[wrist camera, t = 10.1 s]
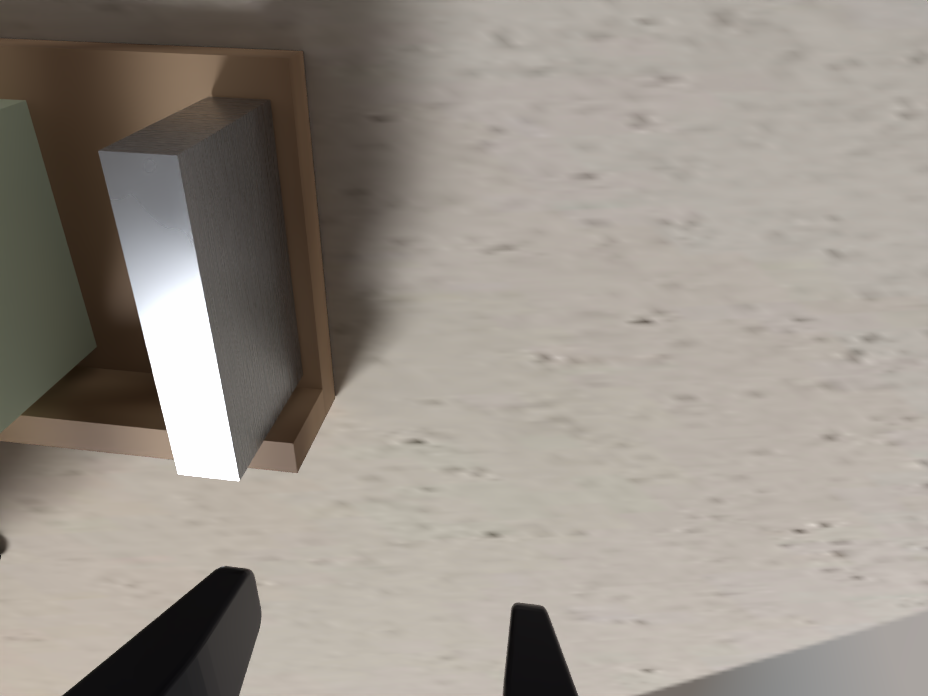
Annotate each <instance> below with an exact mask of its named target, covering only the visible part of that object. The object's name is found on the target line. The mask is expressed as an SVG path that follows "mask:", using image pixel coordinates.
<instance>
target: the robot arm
mask: <svg viewBox="0 0 928 696" xmlns="http://www.w3.org/2000/svg"><path fill="white" fill-rule="evenodd" d="M0 559H1V555H0ZM260 624H261V606H260V601H259V596H258V591H257V586H256V581H255V576H254V574H253V572H252V571H251V570H249V569H246V568H238V567H230V566H223V567H220V568H218V569H216V570H215V571H213V572H212V573H211V574H210V575H209V576H207V577H206V578H205V579H204V580H203V581H201V582H200V583H199V584H198V585H196V586H195V587H194V588H193V589H192V590H190V591H189V592H188V593H187V594H185V595H184V596H183V597H182V598H181V599H179V600H178V601H177V602H176V603H175V604H173V605H172V606H171V607H170V608H168V609H167V610H166V611H165V612H164V613H162V614H161V615H160V616H159V617H157V618H156V619H155V620H154V621H153V622H151V623H150V624H149V625H148V626H146V627H145V628H144V629H143V630H142V631H140V632H139V633H138V634H137V635H136V636H134V637H133V638H132V639H131V640H129V641H128V642H127V643H126V644H125V645H123V646H122V647H121V648H120V649H118V650H117V651H116V652H115V653H114V654H112V655H111V656H110V657H109V658H108V659H106V660H105V661H104V662H103V663H101V664H100V665H99V666H98V667H97V668H95V669H94V670H93V671H92V672H90V673H89V674H88V675H87V676H86V677H84V678H83V679H82V680H81V681H80V682H78V683H77V684H76V685H75V686H73V687H72V688H71V689H70V690H69V691H67V692H66V693H65V694H64V695H62V696H239V694H240V690H241V687H242V684H243V681H244V677H245V674H246V671H247V668H248V664H249V661H250V658H251V655H252V651H253V648H254V645H255V642H256V638H257V635H258V632H259V628H260ZM503 696H578V694H577V691H576V688H575V685H574V683H573V680H572V677H571V675H570V672H569V669H568V666H567V664H566V661H565V658H564V656H563V653H562V650H561V647H560V645H559V642H558V639H557V637H556V634H555V631H554V628H553V626H552V623H551V620H550V618H549V615H548V612H547V611H546V609H545V608H544V607H543V606H541V605H534V604H526V603H515V604H514V605H513V606H512V608H511V617H510V627H509V637H508V646H507V656H506V666H505V675H504V686H503Z"/></svg>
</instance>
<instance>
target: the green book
mask: <svg viewBox="0 0 928 696" xmlns="http://www.w3.org/2000/svg"><path fill="white" fill-rule="evenodd" d="M96 347H97V345H96V342H95V338H94V335H93V331H92V328H91V324H90V321H89V317H88V314H87V310H86V307H85V304H84V300H83V297H82V293H81V290H80V286H79V283H78V279H77V276H76V272H75V269H74V265H73V262H72V258H71V255H70V251H69V248H68V245H67V241H66V238H65V234H64V231H63V227H62V224H61V220H60V217H59V213H58V210H57V206H56V203H55V199H54V196H53V192H52V189H51V185H50V182H49V179H48V175H47V172H46V168H45V165H44V161H43V158H42V154H41V151H40V147H39V144H38V140H37V137H36V133H35V130H34V126H33V123H32V119H31V116H30V113H29V109H28V106H27V102H26V100H10V99H0V433H1V432H2V431H3V430H4V429H6V428H7V427H8V426H9V425H10V424H11V423H12V422H13V421H15V420H16V419H17V418H18V417H19V416H20V415H21V414H22V413H23V412H25V411H26V410H27V409H28V408H29V407H30V406H31V405H32V404H33V403H35V402H36V401H37V400H38V399H39V398H40V397H41V396H42V395H44V394H45V393H46V392H47V391H48V390H49V389H50V388H51V387H52V386H54V385H55V384H56V383H57V382H58V381H59V380H60V379H61V378H63V377H64V376H65V375H66V374H67V373H68V372H69V371H70V370H71V369H73V368H74V367H75V366H76V365H77V364H78V363H79V362H80V361H82V360H83V359H84V358H85V357H86V356H87V355H88V354H89V353H90V352H92V351H93V350H94V349H95V348H96Z"/></svg>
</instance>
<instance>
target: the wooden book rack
mask: <svg viewBox="0 0 928 696" xmlns="http://www.w3.org/2000/svg"><path fill="white" fill-rule="evenodd" d="M206 97H226V98H246V99H266V100H270V102H271V111H272V119H273V128H274V136H275V144H276V153H277V161H278V170H279V178H280V186H281V195H282V203H283V212H284V220H285V228H286V237H287V245H288V254H289V262H290V270H291V279H292V287H293V296H294V304H295V312H296V321H297V329H298V338H299V346H300V355H301V363H302V371H303V376H302V378H301V380H300V381H299V383H298V385H297V386H296V388H295V390H294V391H293V393H292V395H291V396H290V398H289V400H288V401H287V403H286V405H285V406H284V408H283V410H282V411H281V413H280V415H279V416H278V418H277V420H276V421H275V423H274V425H273V426H272V428H271V430H270V431H269V433H268V435H267V436H266V438H265V440H264V441H263V443H262V445H261V446H260V448H259V450H258V451H257V453H256V454H255V456H254V458H253V459H252V461H251V463H250V464H249V466H248V468H255V469H264V470H273V471H283V472H292V473H298V471H299V469H300V467H301V465H302V463H303V461H304V459H305V457H306V455H307V453H308V451H309V449H310V447H311V445H312V443H313V441H314V439H315V437H316V435H317V433H318V431H319V429H320V427H321V425H322V423H323V421H324V419H325V417H326V415H327V413H328V411H329V409H330V407H331V405H332V403H333V401H334V400H335V391H334V380H333V369H332V358H331V348H330V337H329V326H328V315H327V305H326V294H325V283H324V272H323V262H322V251H321V240H320V229H319V218H318V208H317V197H316V186H315V175H314V165H313V154H312V143H311V132H310V122H309V111H308V100H307V89H306V79H305V68H304V57H303V51H290V50H266V49H243V48H219V47H195V46H171V45H148V44H124V43H100V42H76V41H53V40H29V39H5V38H0V99H10V100H26V102H27V106H28V109H29V113H30V116H31V119H32V123H33V126H34V130H35V133H36V137H37V140H38V144H39V147H40V151H41V154H42V158H43V161H44V165H45V168H46V172H47V175H48V179H49V182H50V185H51V189H52V192H53V196H54V199H55V203H56V206H57V210H58V213H59V217H60V220H61V224H62V227H63V231H64V234H65V238H66V241H67V245H68V248H69V251H70V255H71V258H72V262H73V265H74V269H75V272H76V276H77V279H78V283H79V286H80V290H81V293H82V297H83V300H84V304H85V307H86V310H87V314H88V317H89V321H90V324H91V328H92V331H93V335H94V338H95V342H96V345H97V347H96V348H95V349H94V350H93V351H92V352H90V353H89V354H88V355H87V356H86V357H85V358H84V359H83V360H82V361H80V362H79V363H78V364H77V365H76V366H75V367H74V368H73V369H71V370H70V371H69V372H68V373H67V374H66V375H65V376H64V377H63V378H61V379H60V380H59V381H58V382H57V383H56V384H55V385H54V386H52V387H51V388H50V389H49V390H48V391H47V392H46V393H45V394H44V395H42V396H41V397H40V398H39V399H38V400H37V401H36V402H35V403H33V404H32V405H31V406H30V407H29V408H28V409H27V410H26V411H25V412H23V413H22V414H21V415H20V416H19V417H18V418H17V419H16V420H15V421H13V422H12V423H11V424H10V425H9V426H8V427H7V428H6V429H4V430H3V431H2V432H1V433H0V441H5V442H15V443H24V444H33V445H42V446H52V447H61V448H70V449H79V450H89V451H98V452H107V453H116V454H125V455H135V456H144V457H153V458H162V459H172V460H175V459H174V455H173V451H172V447H171V443H170V439H169V435H168V431H167V427H166V423H165V419H164V415H163V411H162V407H161V403H160V399H159V395H158V391H157V387H156V383H155V379H154V375H153V371H152V367H151V363H150V359H149V354H148V350H147V346H146V342H145V338H144V334H143V330H142V326H141V322H140V318H139V314H138V310H137V306H136V302H135V298H134V294H133V290H132V286H131V282H130V278H129V274H128V270H127V266H126V262H125V258H124V254H123V250H122V246H121V242H120V238H119V233H118V229H117V225H116V221H115V217H114V213H113V209H112V205H111V201H110V197H109V193H108V189H107V185H106V181H105V177H104V173H103V169H102V165H101V161H100V157H99V153H98V150H100V149H102V148H105V147H107V146H109V145H111V144H113V143H115V142H117V141H119V140H121V139H123V138H125V137H127V136H129V135H131V134H133V133H135V132H137V131H139V130H141V129H143V128H145V127H147V126H149V125H151V124H153V123H155V122H157V121H160V120H162V119H164V118H166V117H168V116H170V115H172V114H174V113H176V112H178V111H180V110H182V109H184V108H186V107H188V106H190V105H192V104H194V103H196V102H198V101H200V100H202V99H204V98H206Z"/></svg>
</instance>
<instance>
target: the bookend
mask: <svg viewBox="0 0 928 696" xmlns="http://www.w3.org/2000/svg"><path fill="white" fill-rule="evenodd" d="M98 153H99V157H100V161H101V165H102V169H103V173H104V177H105V181H106V185H107V189H108V193H109V197H110V201H111V205H112V209H113V213H114V217H115V221H116V225H117V229H118V233H119V238H120V242H121V246H122V250H123V254H124V258H125V262H126V266H127V270H128V274H129V278H130V282H131V286H132V290H133V294H134V298H135V302H136V306H137V310H138V314H139V318H140V322H141V326H142V330H143V334H144V338H145V342H146V346H147V350H148V354H149V359H150V363H151V367H152V371H153V375H154V379H155V383H156V387H157V391H158V395H159V399H160V403H161V407H162V411H163V415H164V419H165V423H166V427H167V431H168V435H169V439H170V443H171V447H172V451H173V455H174V459H175V463H176V467H177V471H178V474H180V475H189V476H198V477H207V478H216V479H225V480H234V481H240V479H241V478H242V476H243V474H244V473H245V471H246V469H247V468H248V466H249V464H250V463H251V461H252V459H253V458H254V456H255V454H256V453H257V451H258V450H259V448H260V446H261V445H262V443H263V441H264V440H265V438H266V436H267V435H268V433H269V431H270V430H271V428H272V426H273V425H274V423H275V421H276V420H277V418H278V416H279V415H280V413H281V411H282V410H283V408H284V406H285V405H286V403H287V401H288V400H289V398H290V396H291V395H292V393H293V391H294V390H295V388H296V386H297V385H298V383H299V381H300V380H301V378H302V376H303V371H302V363H301V355H300V346H299V338H298V329H297V321H296V312H295V304H294V296H293V287H292V279H291V270H290V262H289V254H288V245H287V237H286V228H285V220H284V212H283V203H282V195H281V186H280V178H279V170H278V161H277V153H276V144H275V136H274V128H273V119H272V111H271V102H270V100H266V99H246V98H226V97H206V98H204V99H202V100H200V101H198V102H196V103H194V104H192V105H190V106H188V107H186V108H184V109H182V110H180V111H178V112H176V113H174V114H172V115H170V116H168V117H166V118H164V119H162V120H160V121H157V122H155V123H153V124H151V125H149V126H147V127H145V128H143V129H141V130H139V131H137V132H135V133H133V134H131V135H129V136H127V137H125V138H123V139H121V140H119V141H117V142H115V143H113V144H111V145H109V146H107V147H105V148H102V149H100V150H98Z"/></svg>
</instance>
